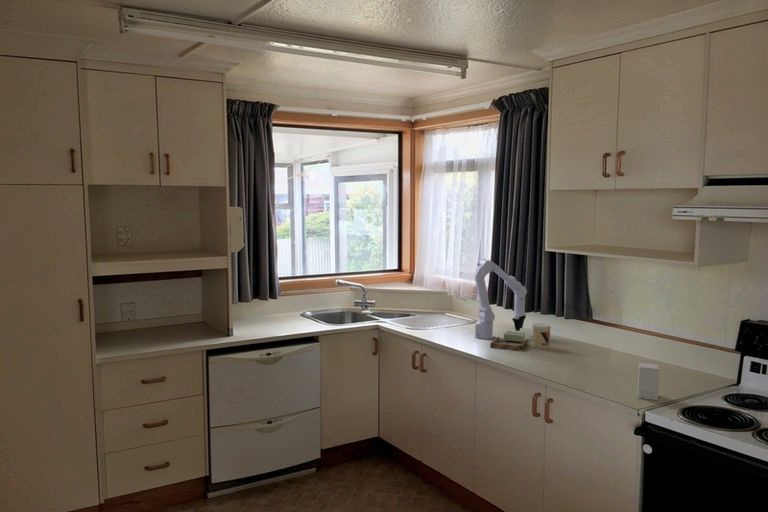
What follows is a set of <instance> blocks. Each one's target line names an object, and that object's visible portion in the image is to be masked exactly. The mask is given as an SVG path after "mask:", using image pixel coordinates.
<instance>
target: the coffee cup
mask: <svg viewBox="0 0 768 512" xmlns="http://www.w3.org/2000/svg"><path fill="white" fill-rule="evenodd" d="M551 328H552V327H551V324H547V323H534V324H533V323H532V341H533V342H532V344H533V348H534V347H535V348H534V349H536V348H538V350H548V349H549V347H550V338H551ZM547 348H548V349H547Z"/></svg>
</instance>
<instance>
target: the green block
mask: <svg viewBox="0 0 768 512" xmlns="http://www.w3.org/2000/svg"><path fill="white" fill-rule="evenodd" d="M525 338H526V333H525V332H524V331H523V332H522V331H515V330H513V331H512V330H506V332H504V333H503V341H505V342H507V341H511V342H519V343H520V342H521V343H523V342H524V340H526V339H525Z"/></svg>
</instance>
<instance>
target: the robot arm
mask: <svg viewBox="0 0 768 512" xmlns="http://www.w3.org/2000/svg"><path fill="white" fill-rule="evenodd" d="M491 272H493V273H495V274H496V275H497V276H499V277H500V278H501V279H502V280H503V281H504V284H505V285H506V286H507V287H508V288H509V289H510V290H512V292H513V293H514V305H513V306H514V308H513V309H514V311H513V315H514V317H513V318H512V322H513V325H514V331H515V332H521V329H523V326H524V322H525V320H526V317H527V313H525V309H526V305H525V304H526V303H525V301H526V294H527V293H528V290H527V288H526V286H525V285H522V283H521V282H520V281H518V280H517V279H516V277H515V276H513V275H508V274H507V273H506V272H505V271H504V270H503V269H502V268H501V267H500V266H499V265H497V264H496V263H494V261H492V260H488V259H486V258H482V259H480V260H478V262H477V263H476V269H475V272H474V282H475V287H476V291H477V296H478V301H479V307H478V310H479V311H478V317H479V321H478V320H477V321H476V323H475V326H474V327H475V328H474V329H475V333H474V335H475V337H474V338H476V339H484V340H485V339H486V340H492V339H493V338H496V337H495V335H494V333H493V331H494V321H495V318H496V317H495V315H496V314H494V312H493V308H492V307H491V304H490V300H489V295H488V291H487V285H486V280H485V278H486V276H487V275H488V274H490V273H491Z"/></svg>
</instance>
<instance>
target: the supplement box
mask: <svg viewBox="0 0 768 512" xmlns="http://www.w3.org/2000/svg"><path fill="white" fill-rule="evenodd" d="M637 373H638V374H637V391H636V392H637V398H638V399H642V398H644V399H646V400H651V399H652V401H658V399H659V384H660V383H659V382H660V381H659V379H660V367H659V364H658V363H657V364H655V363H646V362H645V363H644V362H643V363H641V362H639V363H638V371H637ZM644 399H643V400H644Z"/></svg>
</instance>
